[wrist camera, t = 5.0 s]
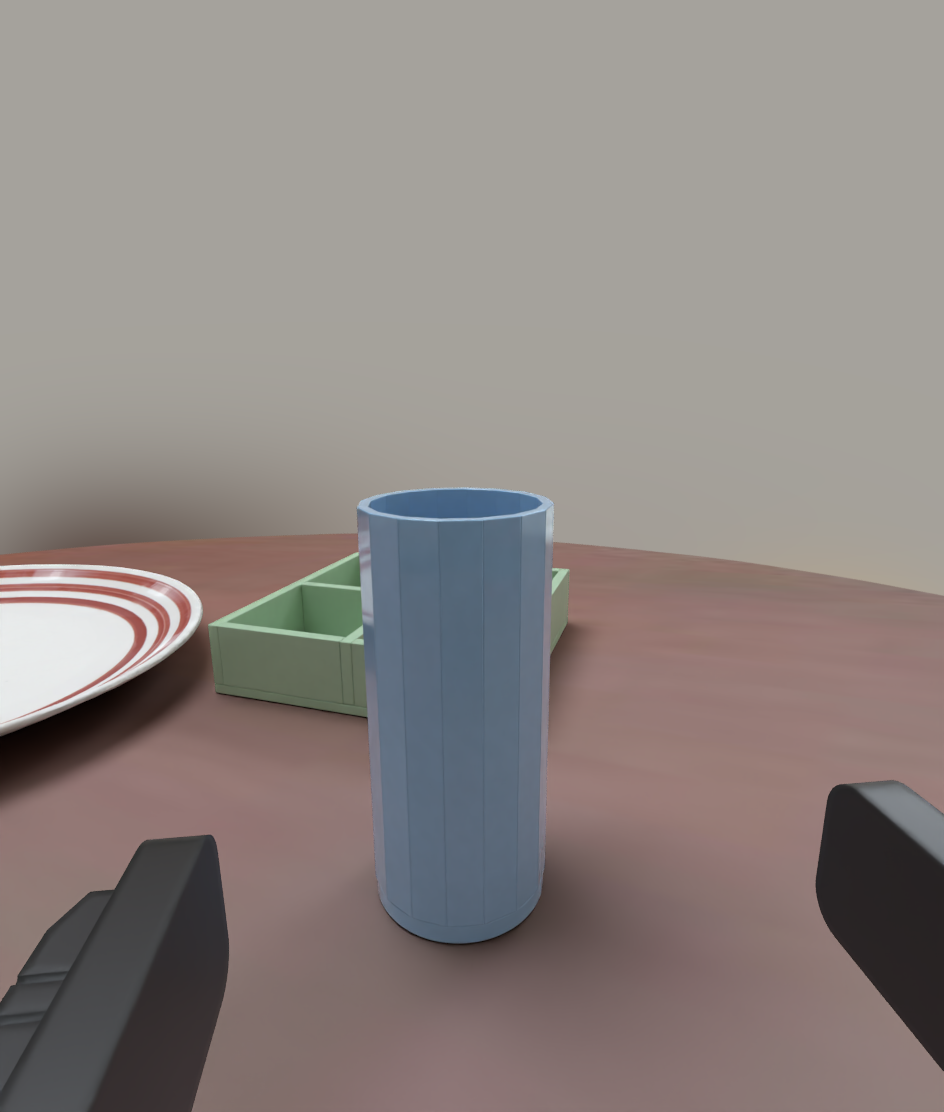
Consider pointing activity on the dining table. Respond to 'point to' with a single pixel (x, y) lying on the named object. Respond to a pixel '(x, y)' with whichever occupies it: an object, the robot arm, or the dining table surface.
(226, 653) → the compartment tray
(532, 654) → the tumbler
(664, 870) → the dining table surface
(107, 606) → the dinner plate
